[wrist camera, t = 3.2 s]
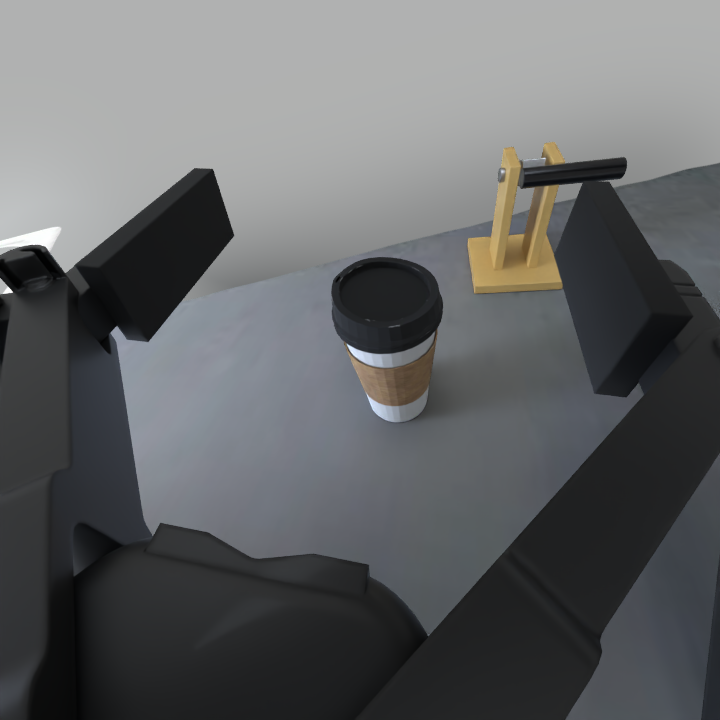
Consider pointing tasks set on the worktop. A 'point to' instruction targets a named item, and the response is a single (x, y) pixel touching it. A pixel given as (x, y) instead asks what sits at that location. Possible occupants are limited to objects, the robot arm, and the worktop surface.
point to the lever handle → (569, 172)
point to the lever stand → (517, 236)
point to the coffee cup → (389, 331)
